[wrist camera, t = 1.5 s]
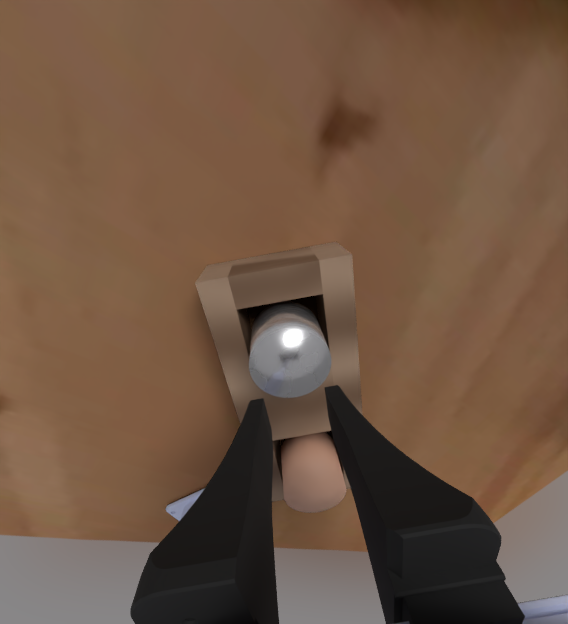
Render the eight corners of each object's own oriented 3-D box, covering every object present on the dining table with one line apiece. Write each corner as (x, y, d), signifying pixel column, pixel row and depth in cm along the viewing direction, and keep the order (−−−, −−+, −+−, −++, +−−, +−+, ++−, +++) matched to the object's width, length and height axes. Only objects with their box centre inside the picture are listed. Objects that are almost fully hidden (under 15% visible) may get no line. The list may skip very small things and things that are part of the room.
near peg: (322, 355, 21) (335, 390, 17) (259, 366, 21) (258, 403, 17) (315, 295, 19) (327, 321, 15) (244, 308, 19) (240, 337, 15)
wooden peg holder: (354, 448, 30) (366, 485, 26) (265, 463, 30) (265, 502, 26) (336, 241, 20) (352, 254, 17) (207, 265, 20) (195, 282, 17)
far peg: (336, 462, 26) (348, 506, 22) (285, 471, 26) (289, 516, 22) (331, 424, 24) (343, 467, 20) (276, 434, 24) (278, 478, 20)
